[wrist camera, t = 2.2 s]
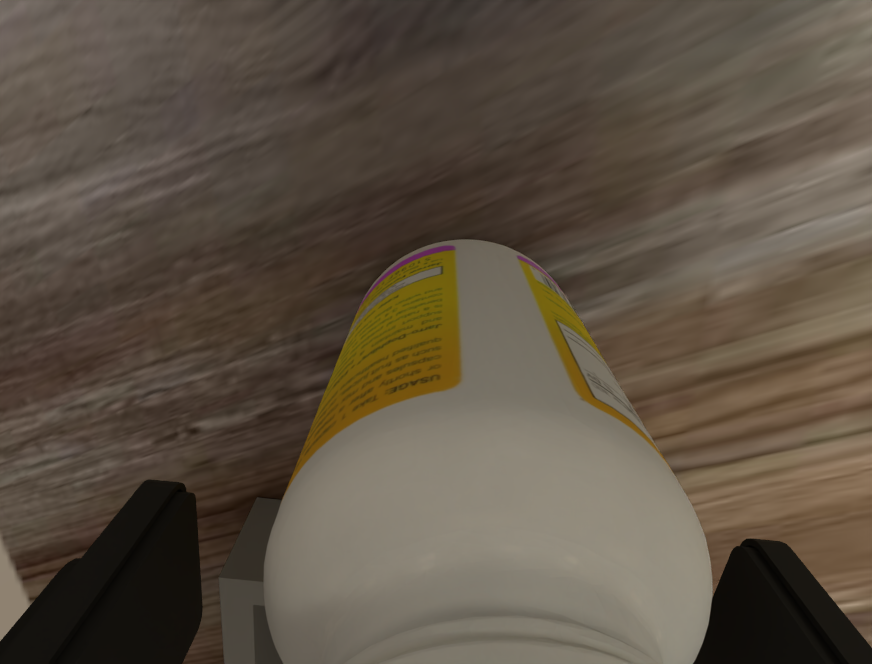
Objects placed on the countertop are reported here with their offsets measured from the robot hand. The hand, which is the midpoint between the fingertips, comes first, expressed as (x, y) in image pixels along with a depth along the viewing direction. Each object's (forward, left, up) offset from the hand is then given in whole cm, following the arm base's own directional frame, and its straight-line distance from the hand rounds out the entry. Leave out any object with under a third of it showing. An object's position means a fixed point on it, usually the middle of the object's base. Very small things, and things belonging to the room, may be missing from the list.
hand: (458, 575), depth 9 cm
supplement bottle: (-1, 0, -8) cm, 8 cm away
